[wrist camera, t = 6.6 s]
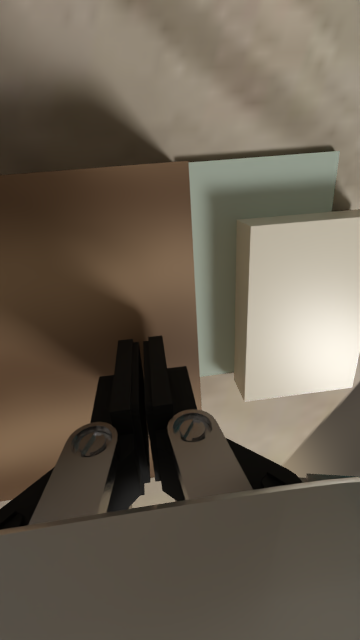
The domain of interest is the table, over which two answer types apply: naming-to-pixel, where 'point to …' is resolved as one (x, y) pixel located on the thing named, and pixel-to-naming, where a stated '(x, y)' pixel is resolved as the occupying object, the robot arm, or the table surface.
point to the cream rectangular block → (297, 304)
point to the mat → (221, 226)
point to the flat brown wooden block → (86, 297)
